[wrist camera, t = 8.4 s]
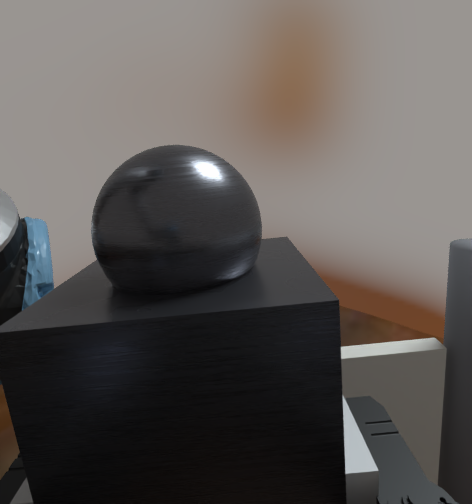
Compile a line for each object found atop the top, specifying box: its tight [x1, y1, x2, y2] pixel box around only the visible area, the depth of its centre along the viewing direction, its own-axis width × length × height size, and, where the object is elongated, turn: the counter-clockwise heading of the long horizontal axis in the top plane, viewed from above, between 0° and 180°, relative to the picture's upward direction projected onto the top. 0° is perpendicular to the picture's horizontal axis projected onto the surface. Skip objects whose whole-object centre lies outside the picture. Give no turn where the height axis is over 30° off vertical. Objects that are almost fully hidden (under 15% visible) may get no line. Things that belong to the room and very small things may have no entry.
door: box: [341, 338, 447, 486], centre depth 23 cm, size 17×3×14 cm, turn 92°
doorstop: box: [0, 145, 347, 504], centre depth 11 cm, size 9×9×18 cm
